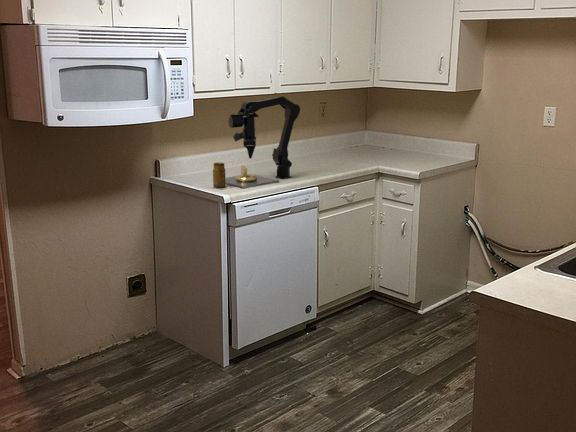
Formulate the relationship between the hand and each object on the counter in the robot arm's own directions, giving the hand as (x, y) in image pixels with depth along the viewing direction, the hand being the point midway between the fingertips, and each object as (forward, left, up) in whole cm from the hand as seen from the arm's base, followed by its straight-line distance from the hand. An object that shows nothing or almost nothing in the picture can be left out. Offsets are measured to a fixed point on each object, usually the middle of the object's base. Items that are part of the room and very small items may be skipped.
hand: (250, 156), depth 327 cm
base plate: (+3, +1, -13) cm, 13 cm away
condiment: (+21, +3, -13) cm, 25 cm away
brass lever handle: (+3, -2, -11) cm, 12 cm away
